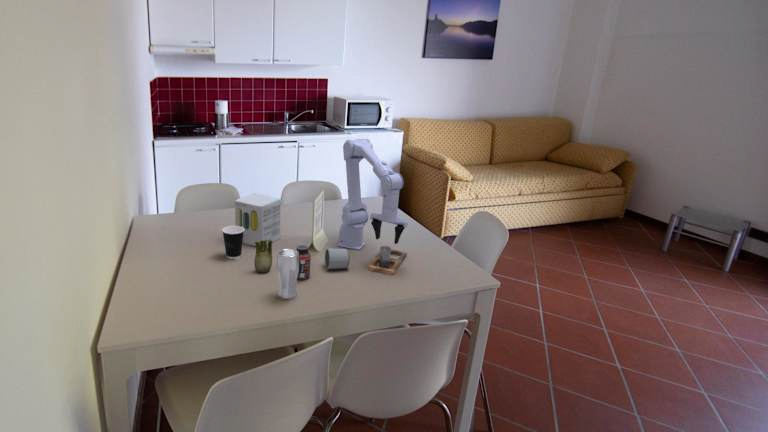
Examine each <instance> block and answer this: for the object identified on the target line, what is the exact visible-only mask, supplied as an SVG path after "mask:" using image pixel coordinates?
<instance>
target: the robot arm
mask: <svg viewBox="0 0 768 432" xmlns="http://www.w3.org/2000/svg"><path fill="white" fill-rule="evenodd" d="M342 151H343V161H345V169H346V186H347V199H348V202H347V203H346V204H345V205H344V206H343V207H342V215H341V221H342V223H341V224H340V227H339V233H338V234H339V235H338V244H337V245H338V247H342V248H347V249H353V250H357V251H359V250H361V249H362V248H363V247H364V246H365V245H366V241H365V242H364V241H363V238H364V226H366V224H367V223H368V221H369V219H370V220H371V223H370V224H371V226H372V228H373V230H374V231H373V232H374V235H375V240H379V239H380V238H381V230H382V224H383V222H384V223H388V224H392V225H396V226H395V227H394V242H393V243H394V244H395V245H397V244H399V241H400V238H401V236H402V234H403V231H404V230H405V229H406V228H407V227H408V226H409V220H406V219H403V218H400V217H398V209H399V201H400V200H399V198H400V190H401V189H403V187H404V178H403V176H402V175H401V173H399V172H398V173H397V172H396V171H395V172H394V170H393V169H392V168H391V166H389V164H388V163H387V161H384V160H381V159H380V158H379V156H378V155H377V154H376V153H375V151H374V147H373V142H371V140H370V139H369V138H364V139H363V138H362V139H346V140H345V142H344V144H343V145H342ZM364 159H365V161H367V162H368V163H369V164H370V165H371V166H372V172H373V173H374V174H375V176H376V177H377V178H378V179H379V180H380V187H381V190H382V191H381V193H382V195H383V196H382V205H381V213H370V215H369V212H368V208H367V207H368V206H367V205H366V204H365V203H363V202H362V191H361V177H360V163H361V161H362V160H364Z"/></svg>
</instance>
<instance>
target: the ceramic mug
mask: <svg viewBox="0 0 768 432" xmlns="http://www.w3.org/2000/svg"><path fill="white" fill-rule="evenodd" d="M350 260H351V257H350V252H349V250H348V249H345V248H330V247H329V248H328V247H327V248H326V250H325V253H324V266H325V268H326V270H341V269H342V270H343V269H348V267H349V266H350V262H351V261H350Z"/></svg>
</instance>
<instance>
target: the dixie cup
mask: <svg viewBox="0 0 768 432" xmlns="http://www.w3.org/2000/svg"><path fill="white" fill-rule="evenodd" d="M221 232H222V235H223V242H224V247H225V248H224V249H225V254H226V255H225V256H226V258H227V259H228V258H229V259H228V260H238V259H240V258H241V256H242V251H243V243H242V242H243V232H244V228H243V227H240V226H236V225H228V226H224V227H223V228H222V229H221Z"/></svg>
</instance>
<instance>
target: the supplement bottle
mask: <svg viewBox="0 0 768 432" xmlns="http://www.w3.org/2000/svg"><path fill="white" fill-rule="evenodd" d="M295 250H297V251H298V252H299V272H298V277H297V280H299V281H305V280H307V279H309V278H310V277H311V259H312V258H311V257H312V255H311V252H309V247H308V245H305V244H304V245H303V244H302V245H297V246H296V249H295Z"/></svg>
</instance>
